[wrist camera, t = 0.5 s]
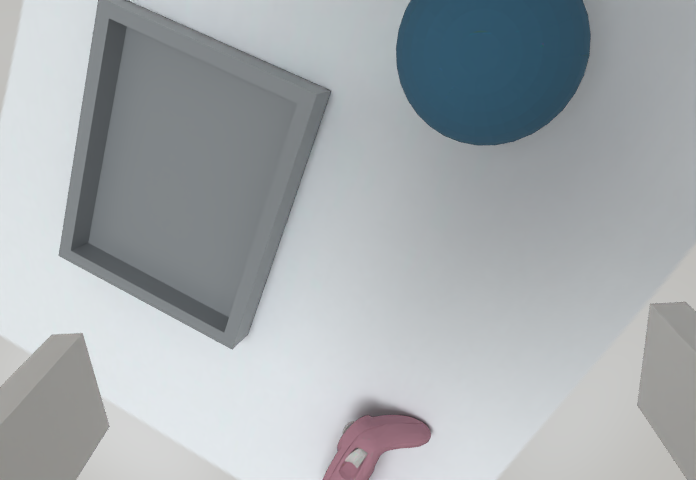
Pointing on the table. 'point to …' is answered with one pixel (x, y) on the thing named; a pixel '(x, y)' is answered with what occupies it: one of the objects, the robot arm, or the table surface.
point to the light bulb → (491, 64)
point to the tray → (185, 168)
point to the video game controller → (373, 444)
